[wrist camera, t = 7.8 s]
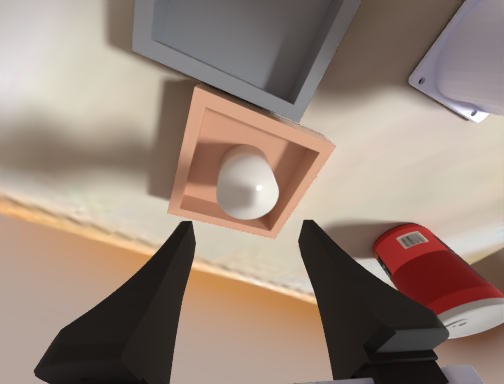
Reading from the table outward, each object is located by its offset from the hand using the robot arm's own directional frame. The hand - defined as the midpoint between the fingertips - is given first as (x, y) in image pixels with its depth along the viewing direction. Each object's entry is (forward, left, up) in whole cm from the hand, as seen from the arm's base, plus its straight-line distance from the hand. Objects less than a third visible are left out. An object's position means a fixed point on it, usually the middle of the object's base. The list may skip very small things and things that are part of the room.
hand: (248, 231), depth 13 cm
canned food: (-26, +4, -10) cm, 28 cm away
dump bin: (0, 0, -9) cm, 9 cm away
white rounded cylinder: (0, 0, -9) cm, 9 cm away
